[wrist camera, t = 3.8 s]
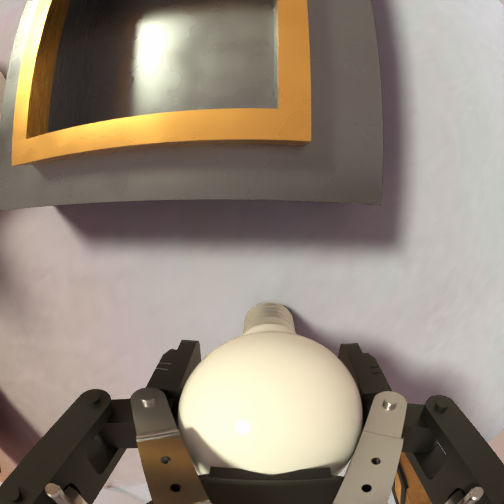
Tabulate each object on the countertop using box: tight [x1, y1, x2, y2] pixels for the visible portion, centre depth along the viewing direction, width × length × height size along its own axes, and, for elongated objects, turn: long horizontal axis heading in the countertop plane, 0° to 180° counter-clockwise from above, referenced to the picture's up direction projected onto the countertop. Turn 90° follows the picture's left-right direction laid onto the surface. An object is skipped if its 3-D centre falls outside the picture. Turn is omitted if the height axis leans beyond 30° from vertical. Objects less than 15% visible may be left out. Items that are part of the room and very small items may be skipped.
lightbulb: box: [177, 302, 363, 475], centre depth 11 cm, size 6×6×11 cm
